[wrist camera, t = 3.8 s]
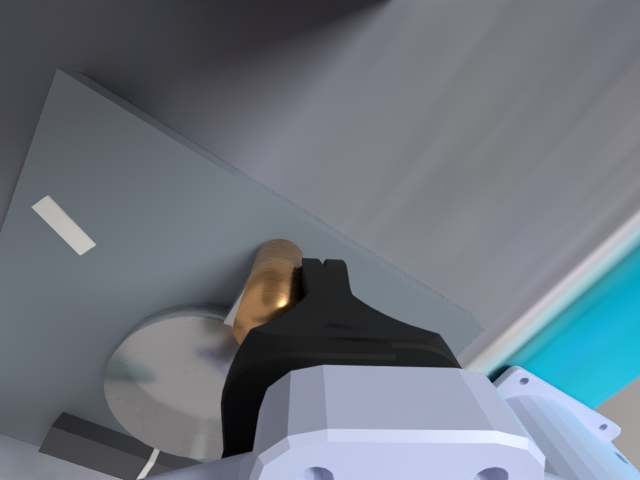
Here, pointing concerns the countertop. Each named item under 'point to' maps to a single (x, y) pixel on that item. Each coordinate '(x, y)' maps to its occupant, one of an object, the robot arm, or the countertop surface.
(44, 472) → the countertop surface
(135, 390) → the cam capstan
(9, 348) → the gray mechanism base plate
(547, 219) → the countertop surface
